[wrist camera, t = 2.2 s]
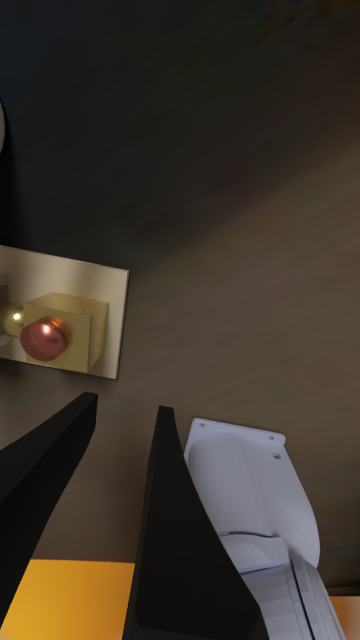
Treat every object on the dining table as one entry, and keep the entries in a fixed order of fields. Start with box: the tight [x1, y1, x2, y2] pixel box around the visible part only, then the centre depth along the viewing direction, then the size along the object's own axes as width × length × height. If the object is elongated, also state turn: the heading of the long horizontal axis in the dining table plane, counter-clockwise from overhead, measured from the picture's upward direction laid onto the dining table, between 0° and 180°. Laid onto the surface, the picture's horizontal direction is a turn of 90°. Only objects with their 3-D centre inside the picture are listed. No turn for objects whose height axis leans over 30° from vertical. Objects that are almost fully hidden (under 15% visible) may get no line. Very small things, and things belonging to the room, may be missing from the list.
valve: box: [0, 292, 109, 373], centre depth 17 cm, size 8×4×4 cm, turn 79°
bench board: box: [0, 245, 129, 379], centre depth 19 cm, size 19×10×1 cm, turn 79°
